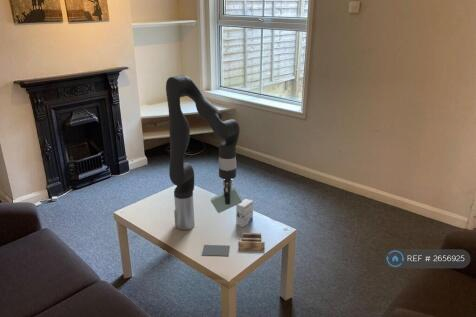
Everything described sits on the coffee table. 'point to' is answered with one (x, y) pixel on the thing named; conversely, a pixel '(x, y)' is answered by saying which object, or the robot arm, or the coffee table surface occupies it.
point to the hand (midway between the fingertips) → (227, 202)
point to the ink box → (244, 212)
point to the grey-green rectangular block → (220, 201)
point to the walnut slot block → (251, 237)
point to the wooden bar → (251, 245)
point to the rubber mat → (216, 250)
